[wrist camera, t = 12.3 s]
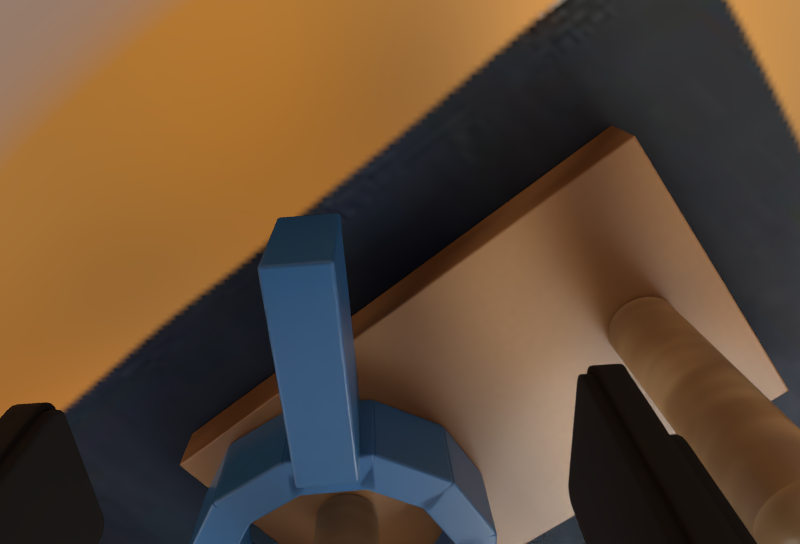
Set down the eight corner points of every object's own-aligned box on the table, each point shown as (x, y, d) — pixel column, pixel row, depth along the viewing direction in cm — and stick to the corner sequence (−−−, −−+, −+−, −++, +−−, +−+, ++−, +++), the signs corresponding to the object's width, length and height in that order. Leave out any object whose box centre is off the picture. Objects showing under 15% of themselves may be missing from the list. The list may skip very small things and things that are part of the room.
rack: (611, 123, 16) (903, 260, 7) (760, 364, 20) (1076, 647, 11) (191, 433, 19) (52, 775, 11) (382, 590, 23) (393, 944, 14)
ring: (482, 593, 21) (501, 687, 18) (235, 616, 21) (214, 715, 18) (480, 201, 15) (508, 247, 12) (133, 227, 15) (78, 280, 12)
